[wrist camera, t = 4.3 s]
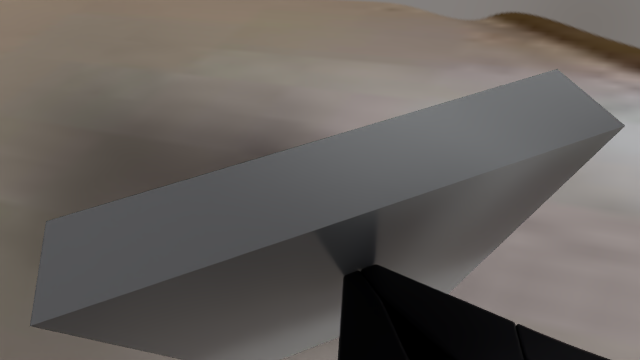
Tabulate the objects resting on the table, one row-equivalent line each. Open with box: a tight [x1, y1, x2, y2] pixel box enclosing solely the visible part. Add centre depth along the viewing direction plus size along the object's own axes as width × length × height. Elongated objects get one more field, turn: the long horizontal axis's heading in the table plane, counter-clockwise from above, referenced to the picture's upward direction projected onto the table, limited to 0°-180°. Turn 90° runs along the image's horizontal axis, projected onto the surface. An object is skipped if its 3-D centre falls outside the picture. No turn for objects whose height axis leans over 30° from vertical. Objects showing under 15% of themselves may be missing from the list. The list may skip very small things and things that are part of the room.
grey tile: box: [30, 69, 625, 360], centre depth 11 cm, size 2×10×12 cm, turn 109°
